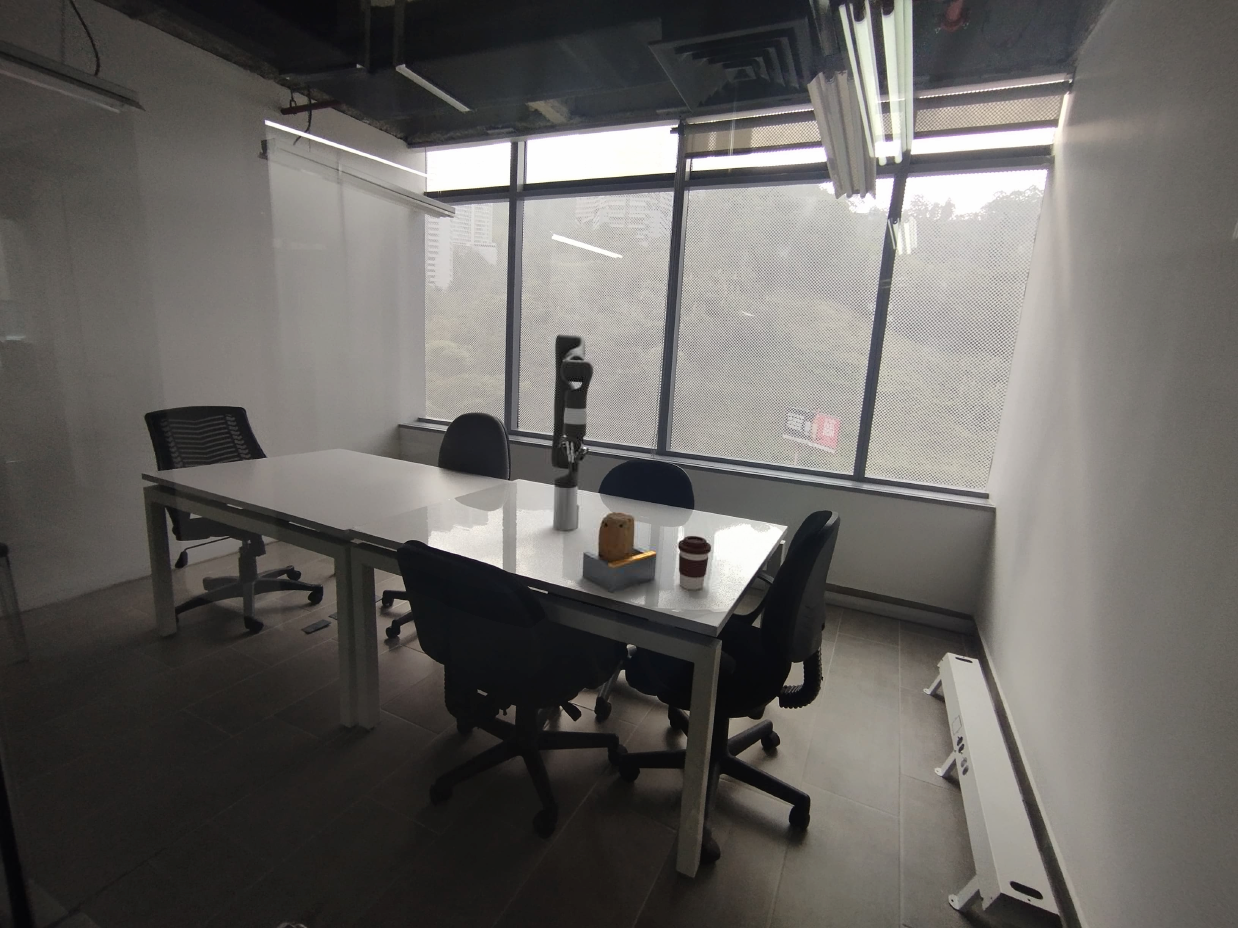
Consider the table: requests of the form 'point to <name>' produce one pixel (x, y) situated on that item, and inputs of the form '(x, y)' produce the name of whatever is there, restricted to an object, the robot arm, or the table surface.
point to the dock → (620, 570)
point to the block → (616, 537)
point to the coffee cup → (693, 561)
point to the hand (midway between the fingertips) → (573, 472)
